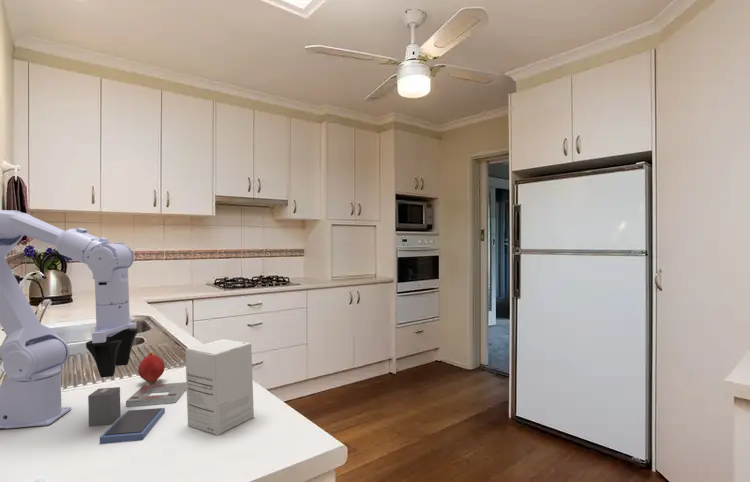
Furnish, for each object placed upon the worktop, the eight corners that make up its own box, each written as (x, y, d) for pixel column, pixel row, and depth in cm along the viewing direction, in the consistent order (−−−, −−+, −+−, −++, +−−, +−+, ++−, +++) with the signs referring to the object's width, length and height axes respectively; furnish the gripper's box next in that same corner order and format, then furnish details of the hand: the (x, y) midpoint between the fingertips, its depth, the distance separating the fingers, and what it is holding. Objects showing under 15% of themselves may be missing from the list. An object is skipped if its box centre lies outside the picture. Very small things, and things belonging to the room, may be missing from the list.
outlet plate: (125, 406, 89) (125, 400, 89) (144, 390, 99) (143, 384, 99) (175, 402, 91) (175, 396, 91) (188, 387, 101) (188, 381, 101)
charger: (88, 426, 80) (88, 394, 80) (99, 418, 84) (98, 387, 84) (111, 425, 81) (110, 393, 81) (120, 416, 85) (119, 386, 85)
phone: (99, 446, 73) (99, 436, 73) (128, 418, 85) (128, 409, 85) (142, 442, 74) (142, 432, 74) (164, 415, 86) (164, 406, 86)
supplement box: (224, 408, 87) (223, 337, 87) (255, 417, 83) (253, 342, 83) (185, 425, 79) (183, 347, 79) (216, 436, 75) (214, 353, 75)
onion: (133, 385, 103) (132, 353, 103) (155, 378, 108) (154, 347, 108) (148, 388, 100) (147, 355, 100) (169, 381, 105) (169, 349, 105)
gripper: (121, 307, 77) (123, 380, 77) (145, 297, 91) (148, 358, 91) (78, 309, 76) (80, 384, 76) (110, 299, 90) (112, 361, 90)
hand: (115, 370), depth 84 cm, fingers open, 7 cm apart
